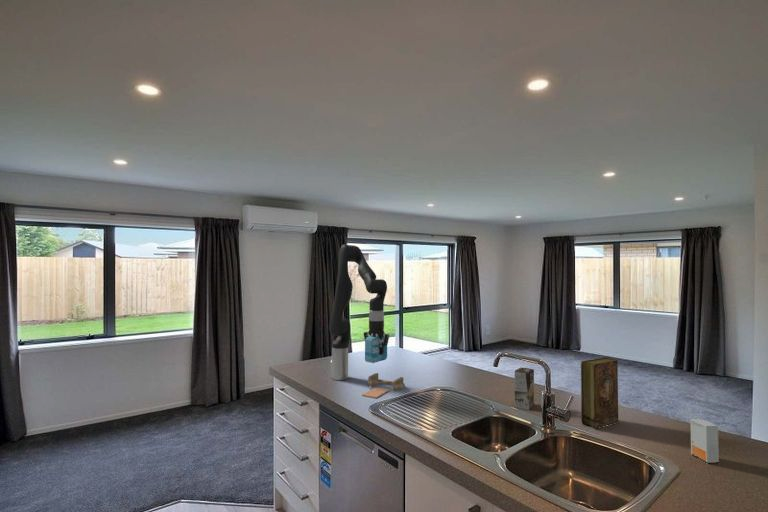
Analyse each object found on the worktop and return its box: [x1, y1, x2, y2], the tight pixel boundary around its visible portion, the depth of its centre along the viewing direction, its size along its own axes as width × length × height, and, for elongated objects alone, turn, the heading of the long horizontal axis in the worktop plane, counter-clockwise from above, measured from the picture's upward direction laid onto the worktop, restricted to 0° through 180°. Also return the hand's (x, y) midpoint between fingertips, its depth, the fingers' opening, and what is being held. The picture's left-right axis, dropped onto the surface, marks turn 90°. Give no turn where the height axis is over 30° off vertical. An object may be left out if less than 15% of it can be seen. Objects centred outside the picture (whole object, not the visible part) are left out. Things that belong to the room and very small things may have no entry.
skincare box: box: [690, 418, 720, 463], centre depth 124 cm, size 6×4×12 cm
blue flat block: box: [364, 336, 388, 364], centre depth 190 cm, size 12×4×12 cm, turn 140°
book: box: [580, 357, 619, 430], centre depth 153 cm, size 16×6×25 cm, turn 117°
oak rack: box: [367, 372, 406, 392], centre depth 201 cm, size 16×10×5 cm, turn 61°
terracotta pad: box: [361, 386, 390, 399], centre depth 189 cm, size 8×14×1 cm, turn 151°
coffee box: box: [514, 367, 535, 411], centre depth 173 cm, size 9×6×16 cm
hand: (376, 353), depth 190 cm, fingers closed on blue flat block, 5 cm apart
